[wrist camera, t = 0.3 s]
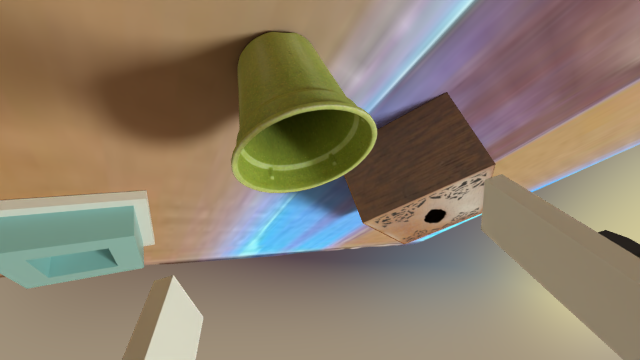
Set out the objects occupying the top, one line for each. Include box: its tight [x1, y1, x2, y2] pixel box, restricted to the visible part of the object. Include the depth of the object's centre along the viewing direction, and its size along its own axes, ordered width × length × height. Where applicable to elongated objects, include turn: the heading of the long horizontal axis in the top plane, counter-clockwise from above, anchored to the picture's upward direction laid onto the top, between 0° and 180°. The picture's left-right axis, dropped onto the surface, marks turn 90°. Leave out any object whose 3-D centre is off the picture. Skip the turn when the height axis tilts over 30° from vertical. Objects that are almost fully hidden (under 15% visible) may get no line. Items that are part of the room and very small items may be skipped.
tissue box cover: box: [344, 92, 496, 244], centre depth 43 cm, size 26×14×10 cm, turn 28°
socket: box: [0, 191, 155, 289], centre depth 32 cm, size 14×14×4 cm
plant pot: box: [231, 32, 377, 193], centre depth 20 cm, size 9×9×9 cm
